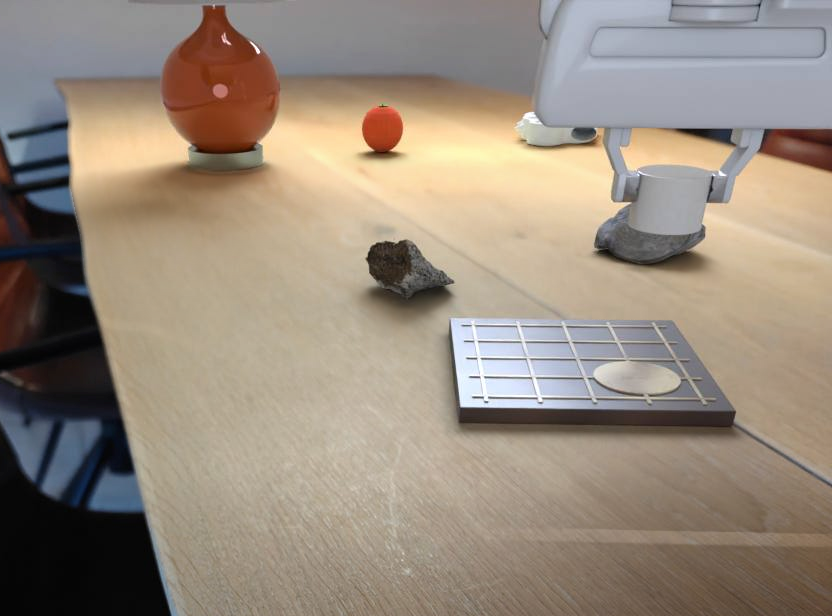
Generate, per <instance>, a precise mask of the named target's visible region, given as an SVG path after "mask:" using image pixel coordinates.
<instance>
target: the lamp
mask: <svg viewBox="0 0 832 616" xmlns="http://www.w3.org/2000/svg"><path fill="white" fill-rule="evenodd" d="M295 1H296V0H128V1H127V2H128V3H130V4H133V5H134V4H135V5H149V6H150V5H151V6H201V9H202V17H201V18H202V19H201V22H200V23H199V25H198V27H197V28H196V29H195V30H194V31H192V33H190V34H188V35H187V36H186V37H184V38H183V39H181V40H180V41H179V42H178V43H177V44H176V45H175V46H174V47H173V48H172V49H171V51H170V52H169V53H168V54H167V57H166V58H165V60H164V63H163V66H162V68H161V72H160V78H159V95H160V101H161V104H162V108H163V110H164V113H165V115H166V117H167V120H168V121H169V123H170V125H171V127H172V128H173V129H174V130H175V132H176V133H177V134H178V135H179V136H180V137H181V138H182V139H183V140H184V141H186V142H187V143H188V144H189V146H188V148H187V153H188V162H189V163H188V164H189V166H190V167H191V168H193V169H198V170H203V171H239V170H247V169H253V168H256V167H257V168H258V167H259V166H262V165H263V164H264V150H263V149H264V147H263V145H262V144H261V142H262V140H264V139H265V137H266V136H268V134H269V133H270V131H271V130H272V129H273V127H274V125H275V122H276V121H277V118H278V114H279V110H280V107H281V102H282V101H281V98H282V92H281V82H280V77H279V74H278V71H277V67H276V66H275V64H274V62H273V60H272V58H271V57H270V55H269V54H268V53H267V51H266V50H265V49H264V48H263V47H262V46H260V45H259V44H258V43H257V42H256V41H255V40H253V39H252V38H250V37H248V36H247V35H245V34H244V33H242V32H240V31H239V30H238V29H236V28H235V27H234V26H233V25H232V23H231V22H230V20H229V19H228V15H227V7H226V6H236V5H237V6H238V5H241V6H242V5H259V4H260V5H262V4H263V5H265V4H278V3H288V2H295Z"/></svg>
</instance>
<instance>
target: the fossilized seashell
mask: <svg viewBox="0 0 832 616" xmlns="http://www.w3.org/2000/svg"><path fill="white" fill-rule="evenodd" d="M630 207H631V203H629V204H627V205H625V206H623V207H622V208H620V209H619V210H618V211H617V213H616V214H615V215H614V216H612V217H610V218H608V219H606V220H605V221H604V222H603V223H602V224H601V225H600V226H599V227H598V228H597V231H596V233H595V238H594V242H593V247H594V248H596V249H597V250H607V251H609V252H610V253H611V254H612V255H613V256H615V258H619V259H623V260H625V261H628V262H631V263H634V264H641V265H644V264H645V265H647V264H653V263H658V262H661V261H663V260H666V259H667V258H670V257H671V256H672V257H673V256H676V255H680V254H683V253H685V252H688V251H689V250H691V249H693V248H695V247H696V246H697V245H699V244H700V243H701V242H702V241H704V240H705V239H706V230H707V227H706V226H705V225H704V224H703V223H702V227H701V230H700V231H698V232H696V233H692V234H686V235H660V234H651V233H646V232H641V231H638V230H635V229H633V228H631V227H629V226H628V218H629V213H630Z"/></svg>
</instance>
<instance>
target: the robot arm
mask: <svg viewBox="0 0 832 616" xmlns="http://www.w3.org/2000/svg"><path fill="white" fill-rule="evenodd" d="M537 9H538V11H537V24H538V28H539V31H540V34H541V35H542V36H543V41H542V45H541V48H540V53H539V57H538V61H537V66H536V71H535V78H534V84H533V90H532V98H531V108H532V109H531V110H532V112H534V114H535V115H536V117H537V118H538V120H539V121H540V122H541V123H542V124H543V125H544V126H546V127H550V128H597V129H603V135H602V136H603V137H602V145H603V148H604V150H605V153H606V155H607V159H608V161H609V163H610V166H611V169H612V170H613V177H612V183H611V188H610V189H611V190H610V200H611V201H612V202H613V203H618V204H619V203H620V204H621V203H631V202H636V199H637V194H638V193H637V191H636V189H637V188H638V187H639V183H640V177H641V175H640V174H638V173H637V169H636V170H635V169H630V170H629V169H628V167H627V165H626V161H625V159H624V156H623V153H622V150H621V148H627V147H629V146H630V142H631V136H632V131H633V129H710V130H711V129H716V130H717V129H719V130H720V129H726V130H728V129H729V130H730V129H732V132H731V137H730V142H731V143H732V144H734V145H735V147H734V148H733V150H732V152H731V153H730V154H729V156H728V157H727V159H726V160H725V161H724V163H723V164H722V165H721V167H720V168H719V170H709V171H710V172H712V173H713V176H712V181H711V186H710V190H709V195H708V199H707V204H729V203H730V201H731V198H732V195H733V190H734V187H735V182H736V178H737V177H738V176H739V175H740V174H741V173H742V172H743V170H744V169H745V168H746V166H747V165H748V164H749V163H750V162H751V160H753V157H754V156H755V155H756V154H757V153H758V151H760V149H761V146H762V141H763V138H764V133H765V130H832V0H538V8H537Z"/></svg>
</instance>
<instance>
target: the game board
mask: <svg viewBox="0 0 832 616" xmlns="http://www.w3.org/2000/svg"><path fill="white" fill-rule="evenodd" d="M448 322H449V324H448V334H449V344H450V352H451V353H450V355H451V362H452V371H453V380H454V388H455V397H456V409H457V417H458V422H459V423H477V424H480V423H482V424H483V423H485V424H487V423H488V424H541V425H542V424H547V425H549V424H551V425H609V426H612V425H613V426H614V425H619V426H620V425H621V426H675V427H676V426H677V427H678V426H680V427H682V426H684V427H733V425H734V421H735V418H736V414H737V411H736V409H735V407H734V406H733V404H732V403H731V402H730V400H729V399H728V397H727V396H726V395H725V393H724V392H723V390H722V389H721V387H720V386H719V384H718V383H717V382H716V380H715V379H714V377H713V376H712V375H711V373H710V372H709V370H708V369H707V368H706V366H705V365H704V363H703V362H702V360H701V359H700V357H699V355H697V353H696V352H695V351H694V349H693V347H692V346H691V344H690V343H689V342H688V340H687V339H686V338H685V337H684V335H683V333H682V332H681V331H680V329H679V327H678V326H677V325H676V323H675V322H674V320H669V319H667V320H665V319H664V320H663V319H582V318H581V319H578V318H577V319H576V318H575V319H569V318H566V319H564V318H563V319H562V318H485V317H484V318H481V317H480V318H477V317H476V318H475V317H474V318H470V317H464V318H463V317H459V318H458V317H449V321H448Z"/></svg>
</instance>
